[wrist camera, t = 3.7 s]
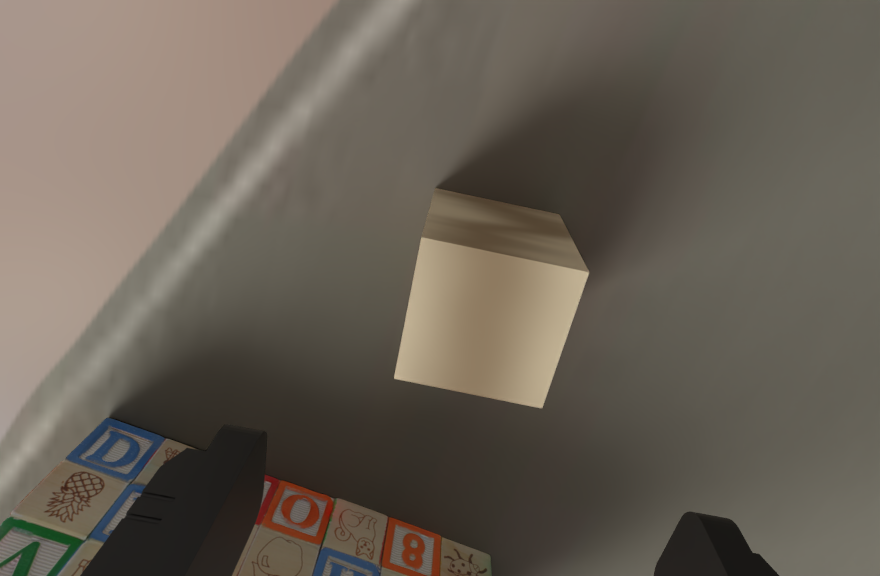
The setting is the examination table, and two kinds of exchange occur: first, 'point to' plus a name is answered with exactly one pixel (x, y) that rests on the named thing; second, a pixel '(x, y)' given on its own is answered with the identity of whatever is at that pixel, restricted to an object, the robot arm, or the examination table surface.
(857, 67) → the examination table surface
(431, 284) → the birch block
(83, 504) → the stack of blocks
